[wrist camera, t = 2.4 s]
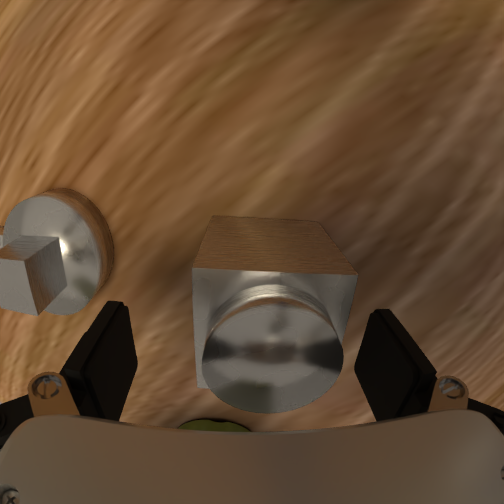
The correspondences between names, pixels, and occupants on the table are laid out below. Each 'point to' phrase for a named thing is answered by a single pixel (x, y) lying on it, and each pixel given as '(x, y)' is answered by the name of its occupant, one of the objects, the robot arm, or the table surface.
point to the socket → (269, 312)
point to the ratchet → (53, 253)
